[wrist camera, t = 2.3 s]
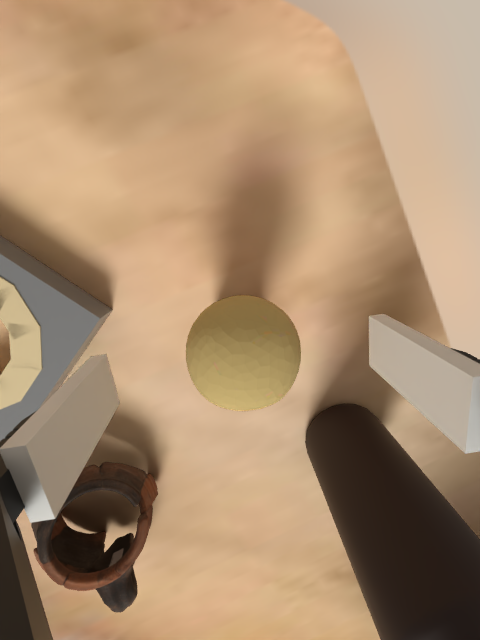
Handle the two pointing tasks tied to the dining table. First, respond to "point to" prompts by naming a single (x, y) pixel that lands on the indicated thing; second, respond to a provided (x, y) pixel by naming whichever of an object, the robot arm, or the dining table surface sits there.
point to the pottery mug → (98, 538)
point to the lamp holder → (40, 332)
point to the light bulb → (243, 353)
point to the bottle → (396, 530)
